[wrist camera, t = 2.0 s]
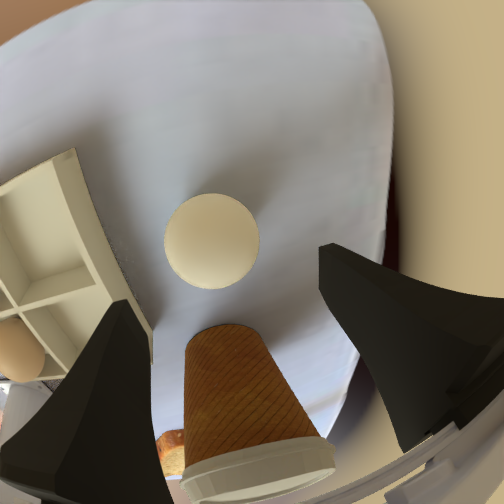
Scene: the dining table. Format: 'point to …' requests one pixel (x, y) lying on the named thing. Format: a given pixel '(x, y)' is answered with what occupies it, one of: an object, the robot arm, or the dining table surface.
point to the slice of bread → (171, 452)
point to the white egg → (211, 241)
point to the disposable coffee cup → (244, 423)
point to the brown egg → (19, 351)
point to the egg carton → (57, 261)
